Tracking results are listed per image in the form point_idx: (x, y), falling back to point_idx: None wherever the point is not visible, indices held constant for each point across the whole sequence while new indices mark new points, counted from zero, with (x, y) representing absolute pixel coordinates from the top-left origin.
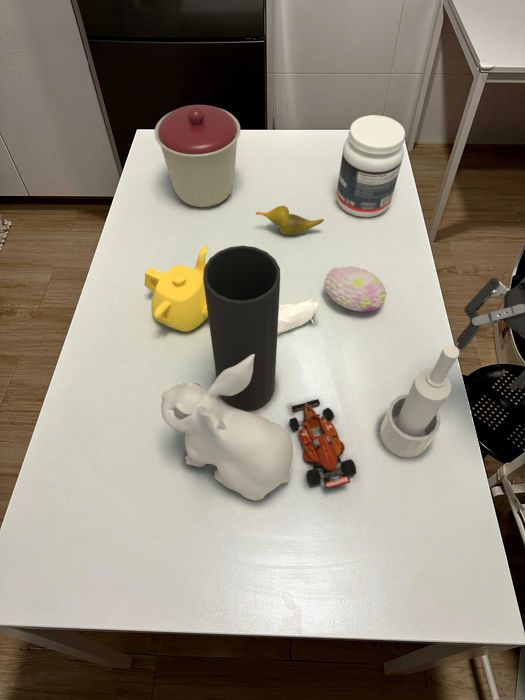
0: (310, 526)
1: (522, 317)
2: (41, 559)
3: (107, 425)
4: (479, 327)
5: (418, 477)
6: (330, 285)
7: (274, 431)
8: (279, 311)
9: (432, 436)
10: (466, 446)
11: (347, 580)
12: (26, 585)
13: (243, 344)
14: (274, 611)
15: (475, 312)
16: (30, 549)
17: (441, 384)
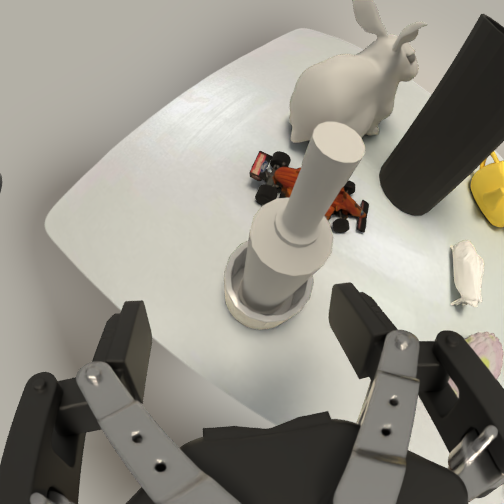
0: (239, 139)
1: (309, 487)
2: (325, 41)
3: (402, 97)
4: (369, 367)
5: (202, 264)
6: (489, 334)
7: (341, 78)
8: (477, 257)
9: (224, 274)
10: (191, 355)
11: (177, 136)
12: (315, 34)
13: (447, 70)
14: (204, 90)
15: (431, 362)
16: (334, 42)
17: (278, 216)
